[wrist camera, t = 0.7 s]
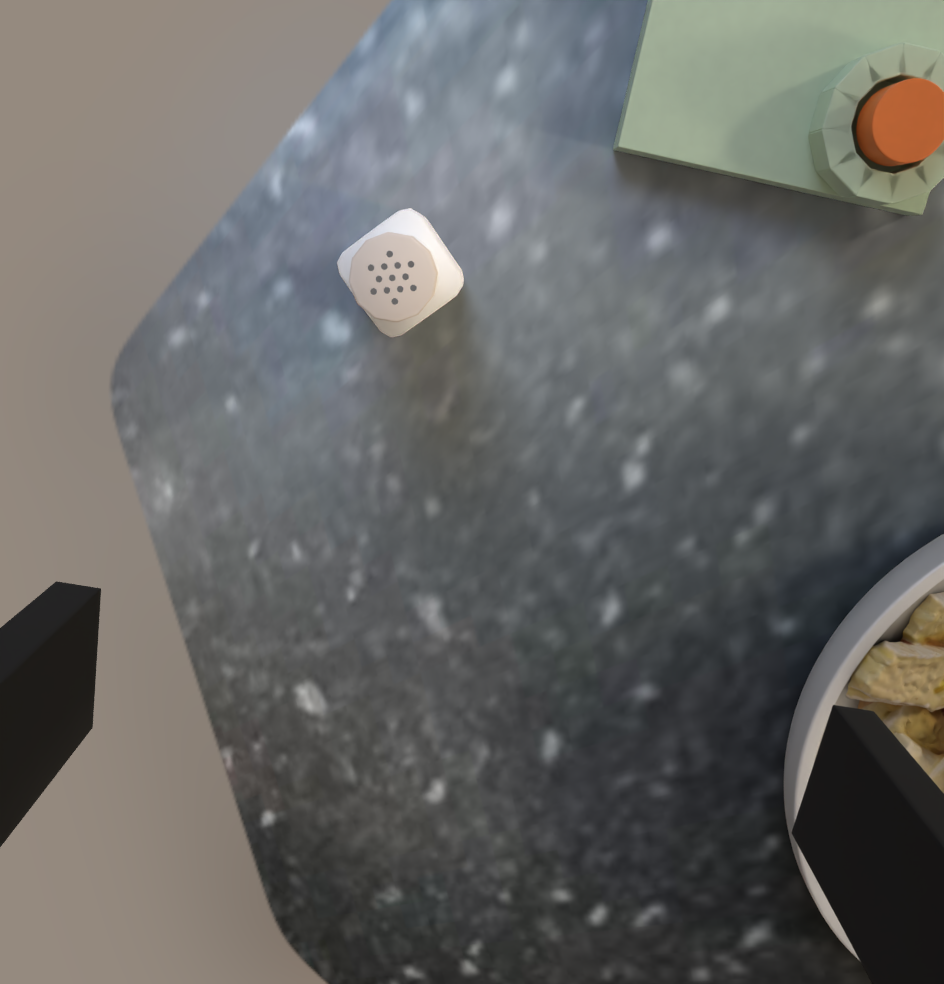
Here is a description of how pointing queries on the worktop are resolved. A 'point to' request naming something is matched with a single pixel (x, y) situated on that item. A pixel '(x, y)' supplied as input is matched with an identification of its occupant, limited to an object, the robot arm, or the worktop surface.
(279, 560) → the worktop surface
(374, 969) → the worktop surface
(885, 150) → the button
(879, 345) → the worktop surface
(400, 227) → the pepper shaker
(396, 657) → the worktop surface
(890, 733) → the robot arm
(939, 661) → the bowl
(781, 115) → the scale
